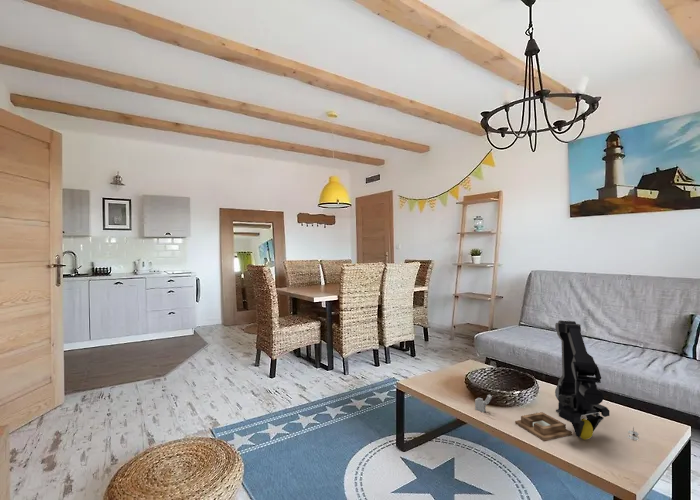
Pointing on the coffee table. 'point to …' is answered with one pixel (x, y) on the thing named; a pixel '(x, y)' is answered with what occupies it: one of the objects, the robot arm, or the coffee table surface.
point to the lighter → (482, 403)
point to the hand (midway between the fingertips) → (584, 435)
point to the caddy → (543, 426)
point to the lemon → (586, 430)
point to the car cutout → (633, 433)
